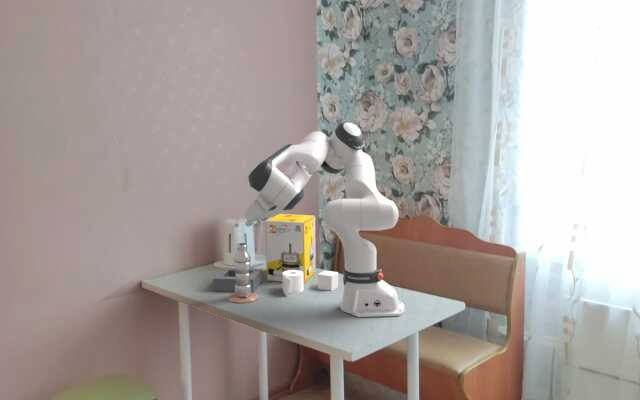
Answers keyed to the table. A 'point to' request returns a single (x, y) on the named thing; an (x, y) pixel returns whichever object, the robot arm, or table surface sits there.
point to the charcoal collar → (228, 277)
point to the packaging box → (290, 245)
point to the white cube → (328, 280)
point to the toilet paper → (292, 281)
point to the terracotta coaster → (243, 298)
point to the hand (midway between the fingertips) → (254, 222)
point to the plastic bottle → (242, 271)
